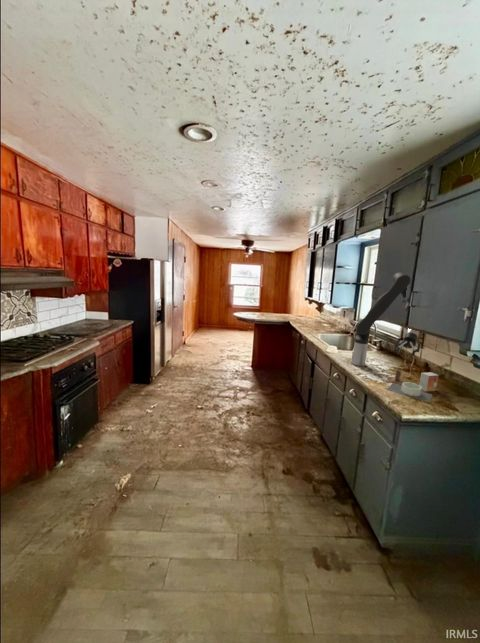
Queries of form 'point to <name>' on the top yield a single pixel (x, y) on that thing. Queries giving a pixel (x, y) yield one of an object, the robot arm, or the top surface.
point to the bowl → (411, 389)
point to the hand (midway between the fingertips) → (404, 354)
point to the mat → (397, 389)
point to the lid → (396, 378)
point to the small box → (429, 381)
